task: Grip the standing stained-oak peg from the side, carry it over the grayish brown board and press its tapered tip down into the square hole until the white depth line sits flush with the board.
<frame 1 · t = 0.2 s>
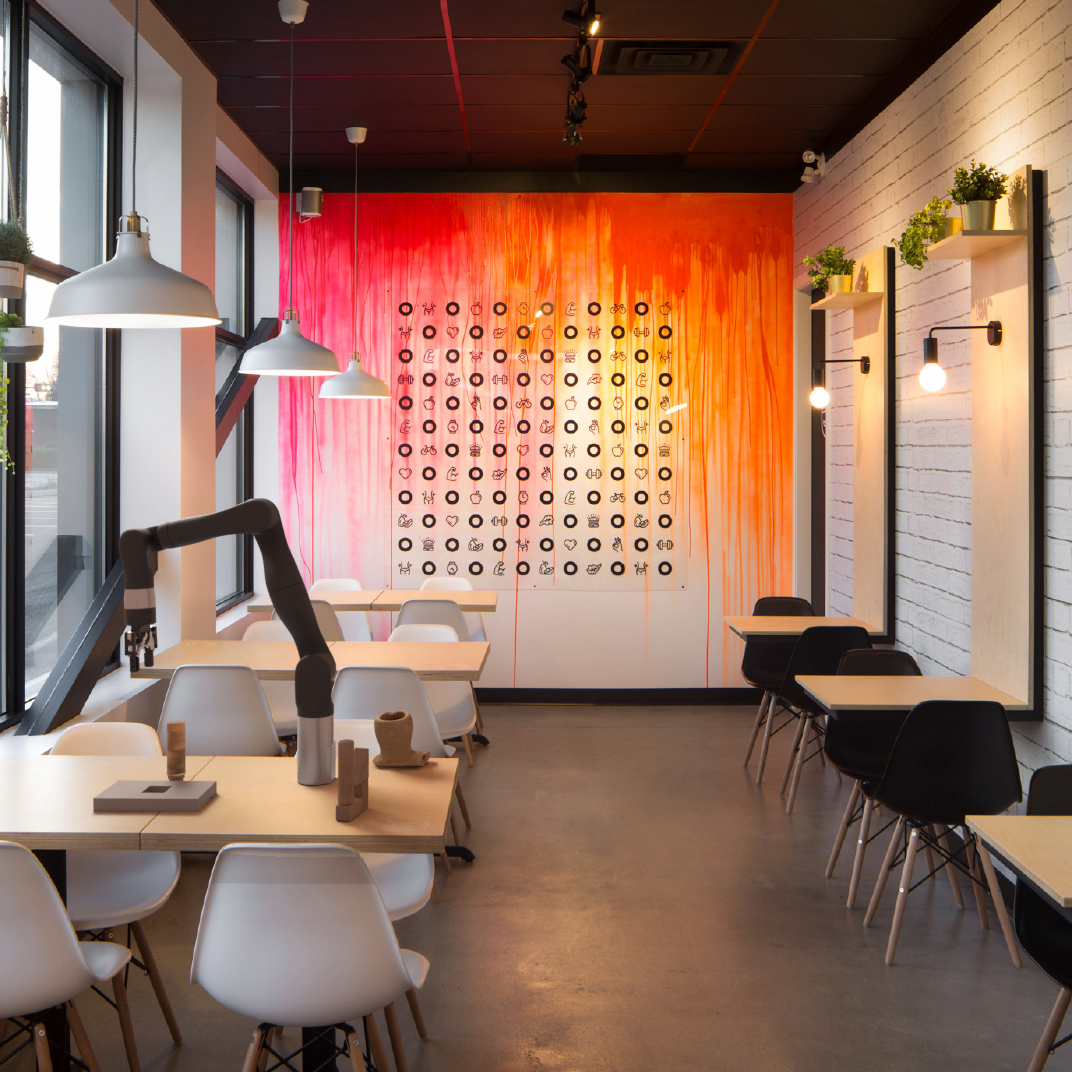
hand: (142, 669, 248), 29 cm above the table, tool pointing down, fingers open, 8 cm apart
oak peg: (176, 785, 244), on the table
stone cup: (400, 766, 264), on the table
wooden block: (352, 815, 224), on the table
grayish brown board: (156, 801, 231), on the table
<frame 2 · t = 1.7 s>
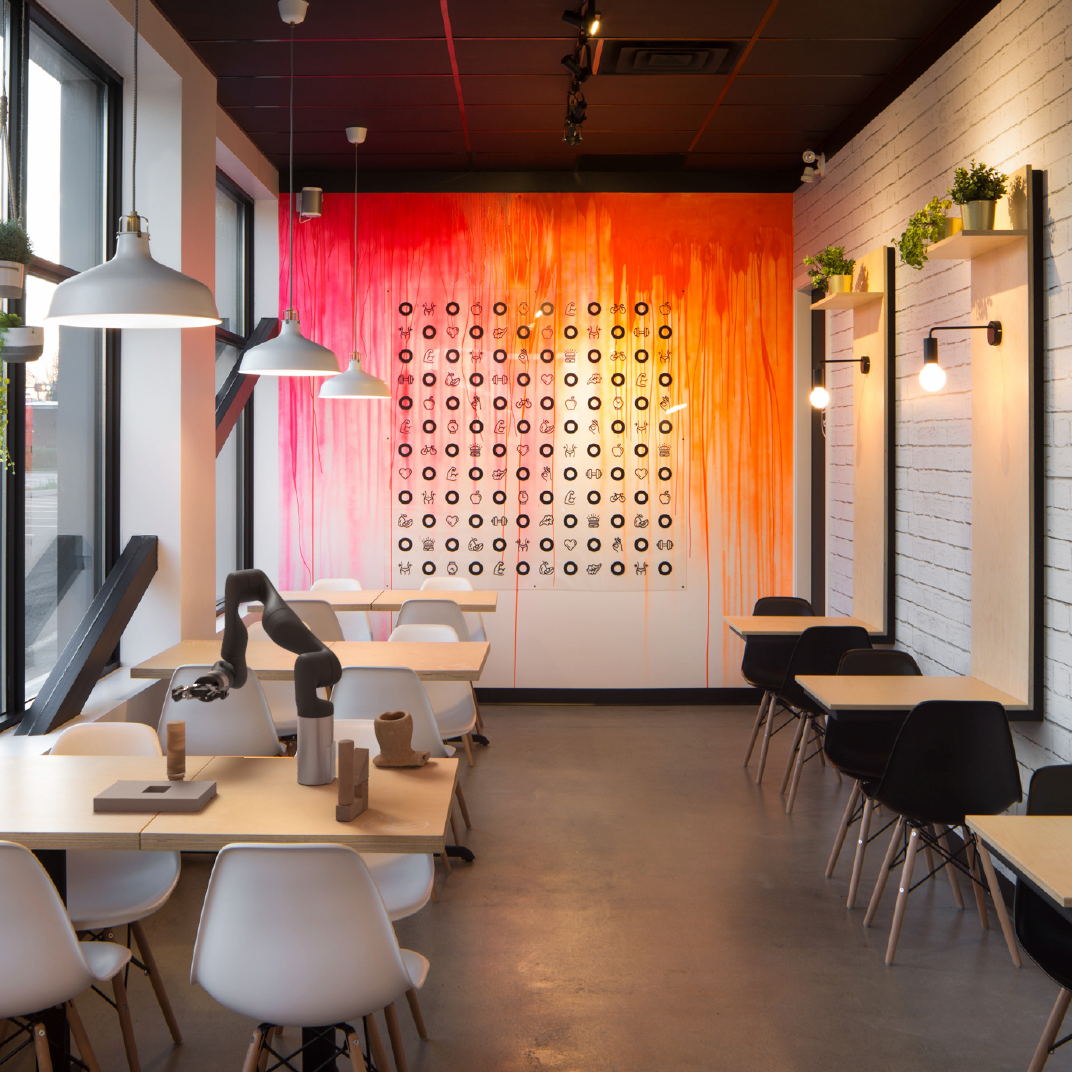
hand: (191, 698, 255), 20 cm above the table, tool horizontal, fingers open, 8 cm apart
nothing on the table moved.
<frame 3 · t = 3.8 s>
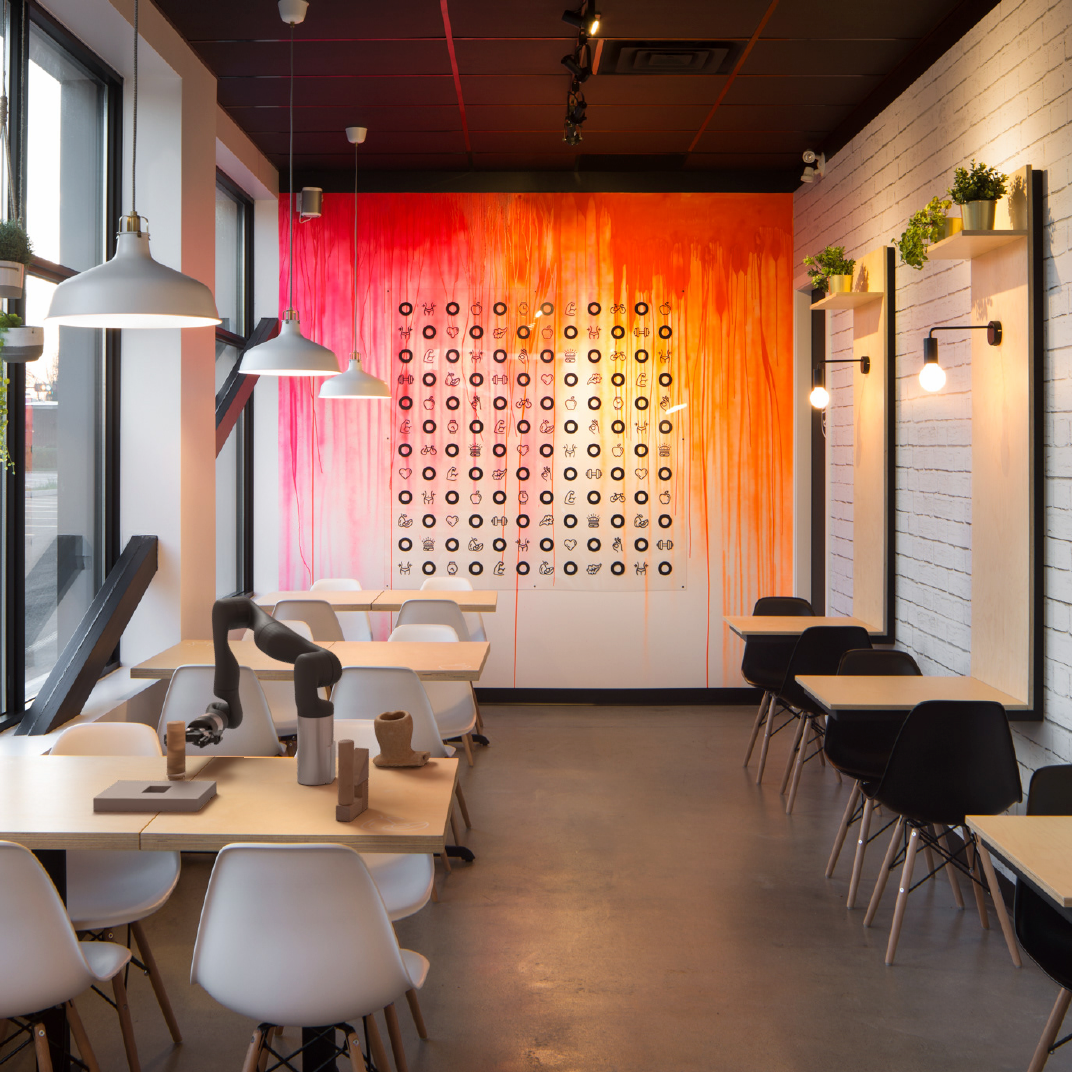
hand: (184, 744, 250), 9 cm above the table, tool horizontal, fingers open, 8 cm apart
nothing on the table moved.
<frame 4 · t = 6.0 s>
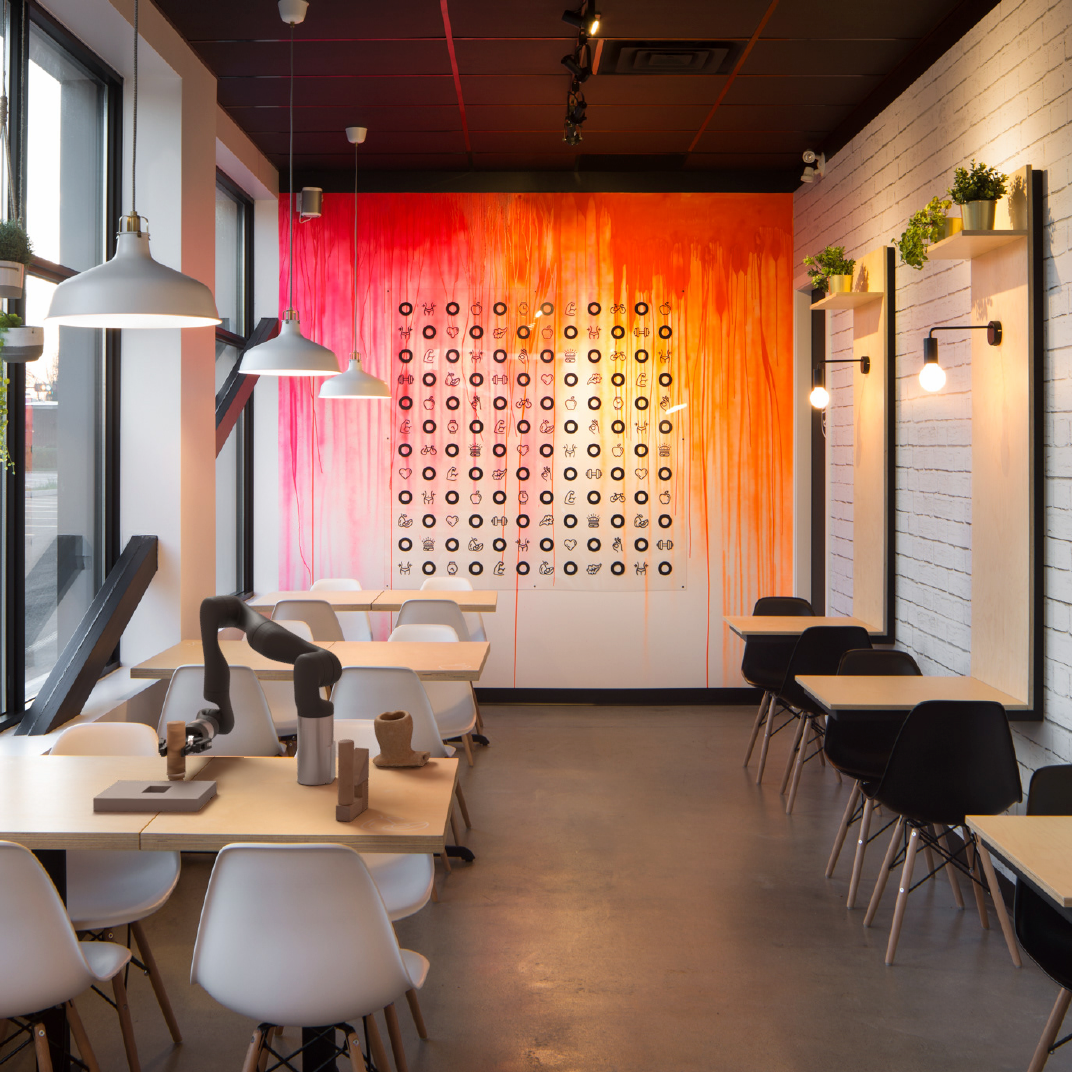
hand: (172, 752, 241), 9 cm above the table, tool horizontal, fingers closed on oak peg, 4 cm apart
oak peg: (176, 785, 244), on the table, touching gripper
everything else where it was.
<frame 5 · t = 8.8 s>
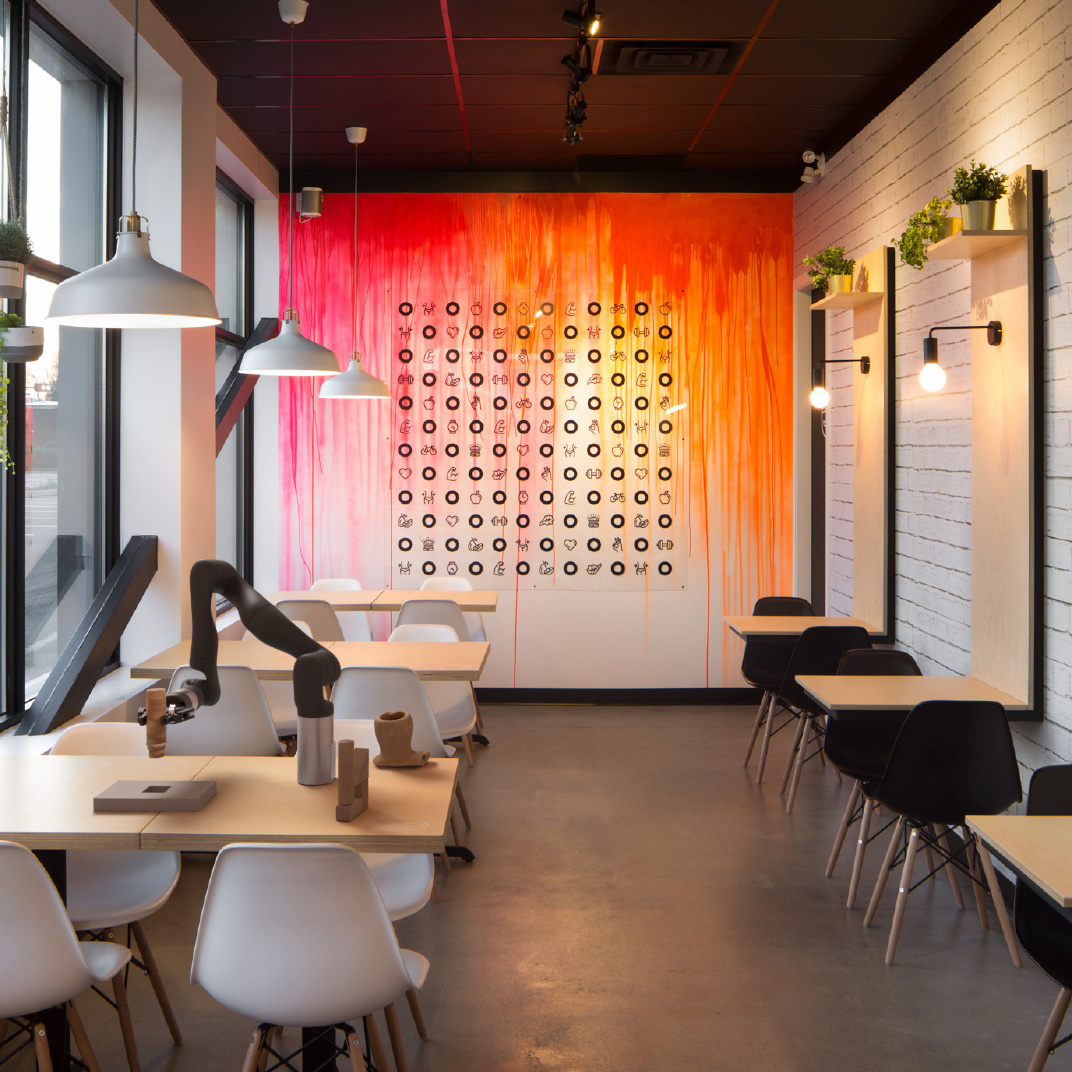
hand: (152, 721, 228), 20 cm above the table, tool horizontal, fingers closed on oak peg, 4 cm apart
oak peg: (156, 756, 231), point 11 cm above the table, touching gripper
everything else where it was.
when the fingers open (9 cm above the table, at t = 12.0 s): oak peg stays where it is, resting in grayish brown board.
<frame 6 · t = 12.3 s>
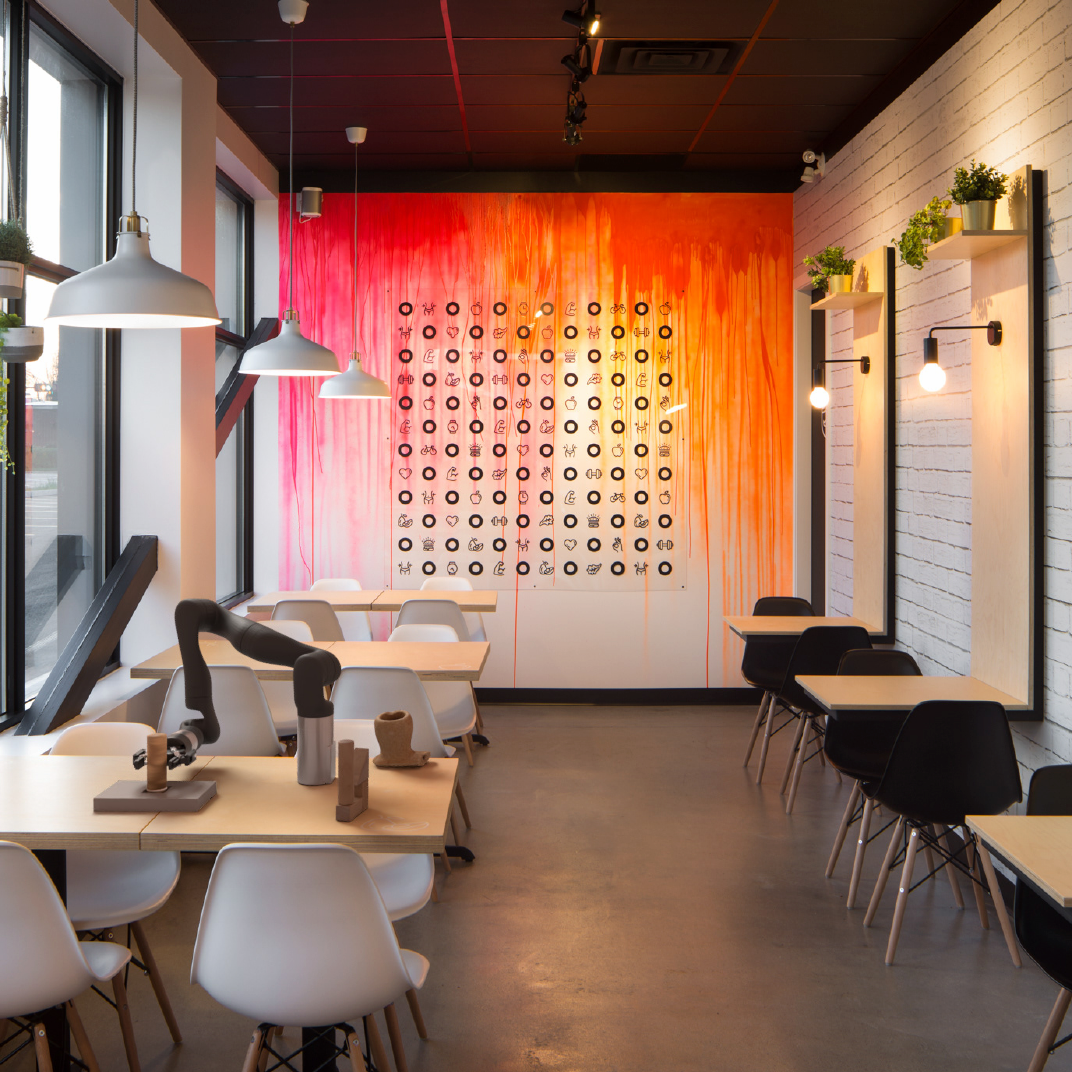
hand: (153, 765, 229), 9 cm above the table, tool horizontal, fingers open, 7 cm apart
oak peg: (156, 801, 231), resting in grayish brown board
everything else where it was.
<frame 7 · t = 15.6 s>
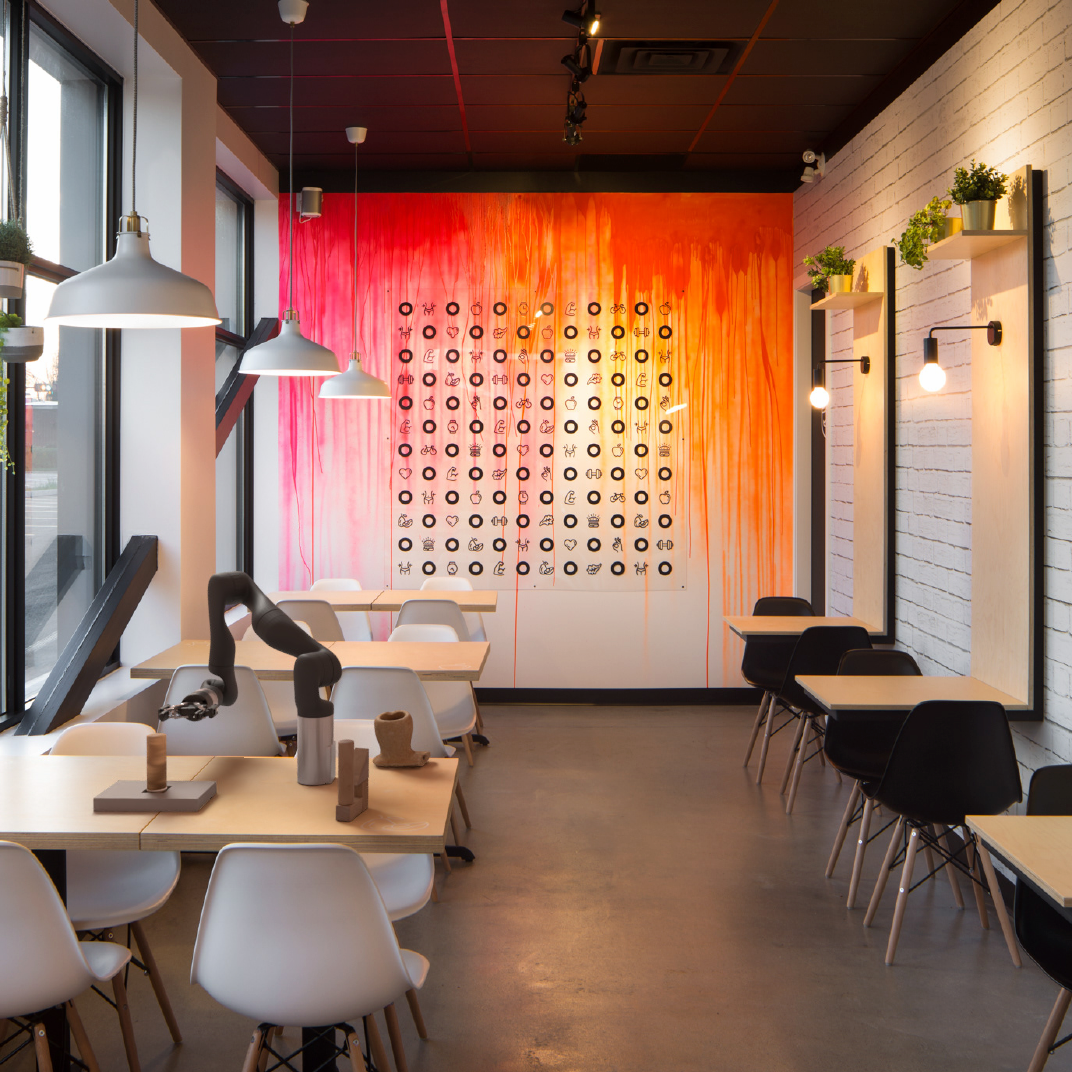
hand: (178, 717, 245), 17 cm above the table, tool horizontal, fingers open, 8 cm apart
nothing on the table moved.
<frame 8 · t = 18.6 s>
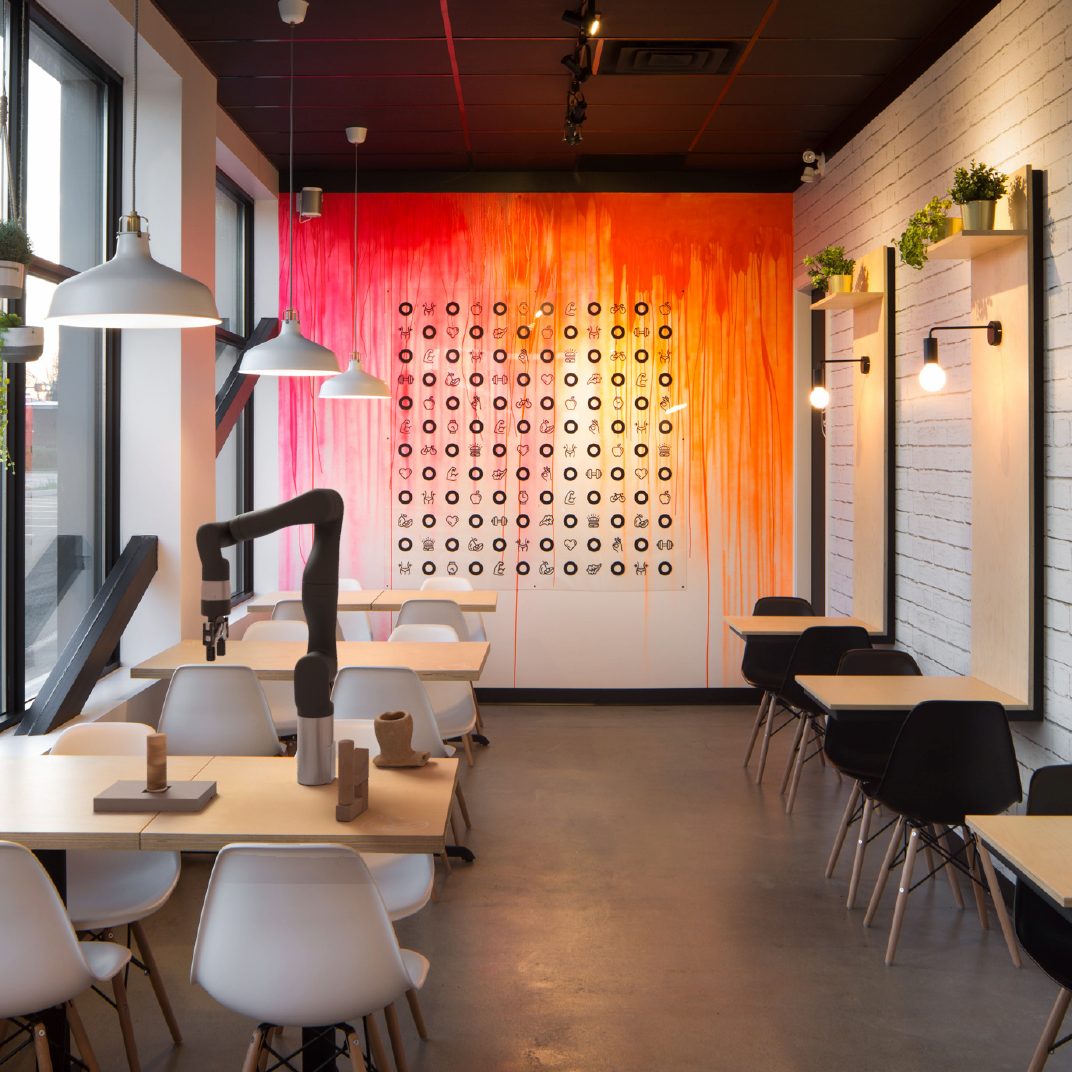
hand: (216, 658, 256), 30 cm above the table, tool pointing down, fingers open, 8 cm apart
nothing on the table moved.
at the end: oak peg 0.1 cm off-centre on the grayish brown board, point 0.0 cm above the grayish brown board's base; oak peg tilted 0°; the gripper is holding nothing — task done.
